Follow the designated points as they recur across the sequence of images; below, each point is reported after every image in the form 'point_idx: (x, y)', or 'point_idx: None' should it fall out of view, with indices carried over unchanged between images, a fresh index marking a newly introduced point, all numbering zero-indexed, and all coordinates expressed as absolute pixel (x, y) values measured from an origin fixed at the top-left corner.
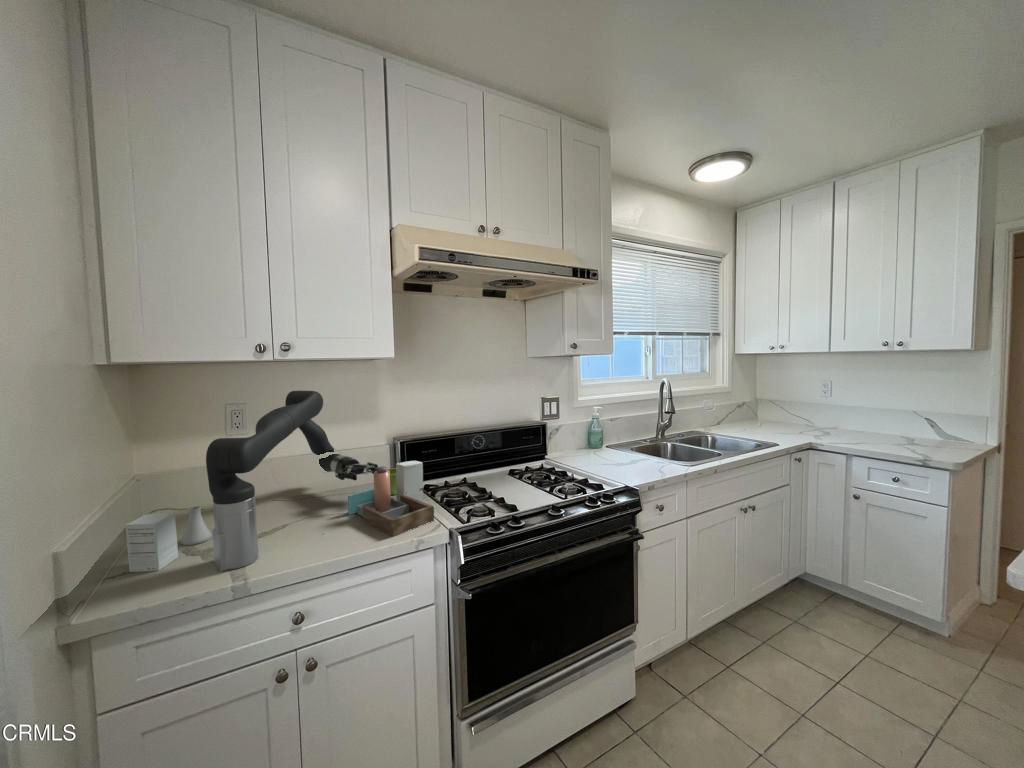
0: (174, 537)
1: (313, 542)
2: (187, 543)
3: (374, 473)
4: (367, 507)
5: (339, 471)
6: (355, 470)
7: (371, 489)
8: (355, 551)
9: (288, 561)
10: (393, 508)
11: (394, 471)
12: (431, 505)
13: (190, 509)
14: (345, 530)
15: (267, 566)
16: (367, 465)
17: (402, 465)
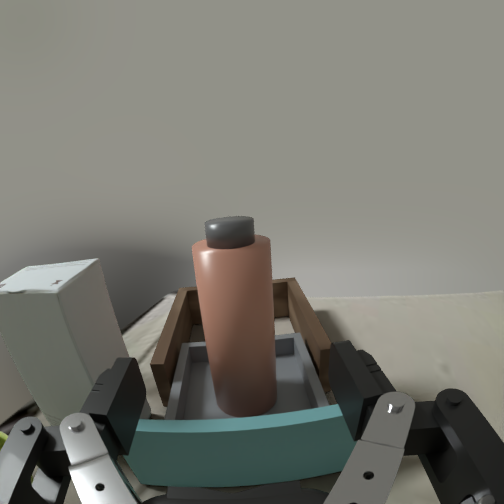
0: None
1: (457, 342)
2: None
3: (268, 241)
4: (321, 339)
5: (491, 451)
6: (279, 494)
7: (234, 424)
8: (373, 300)
9: (476, 307)
10: (206, 393)
11: None
12: (178, 290)
13: None
14: (389, 366)
15: (500, 305)
16: (94, 457)
17: (93, 261)
